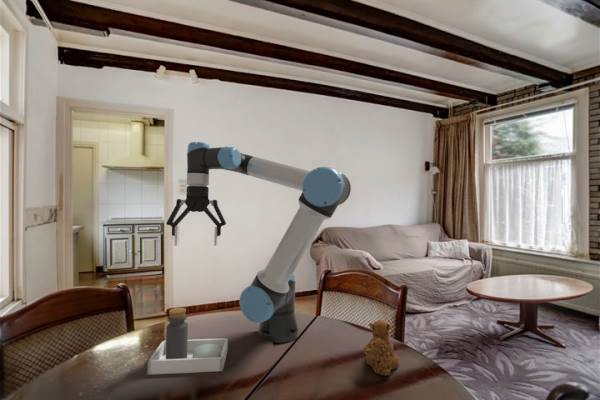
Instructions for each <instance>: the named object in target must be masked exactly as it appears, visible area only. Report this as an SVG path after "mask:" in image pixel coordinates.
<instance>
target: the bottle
mask: <svg viewBox="0 0 600 400" xmlns="http://www.w3.org/2000/svg"><path fill="white" fill-rule="evenodd" d="M186 311H187V309H186V307H175V308H171V309H169V311H168V314H169V316H168V318H167V321H168V322H169V323H168V324H167V325H166V332H165V333H166V335H165V337H166V339H165V340H166V359H184V358H187V340H188V339H189V338H188V335H189V334H188V333H189V331H188V330H189V329H188V327H189V326H188V325H189V324H188V323H187V322H186V321H185V320H187V318H188V317H187V314H186Z"/></svg>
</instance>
